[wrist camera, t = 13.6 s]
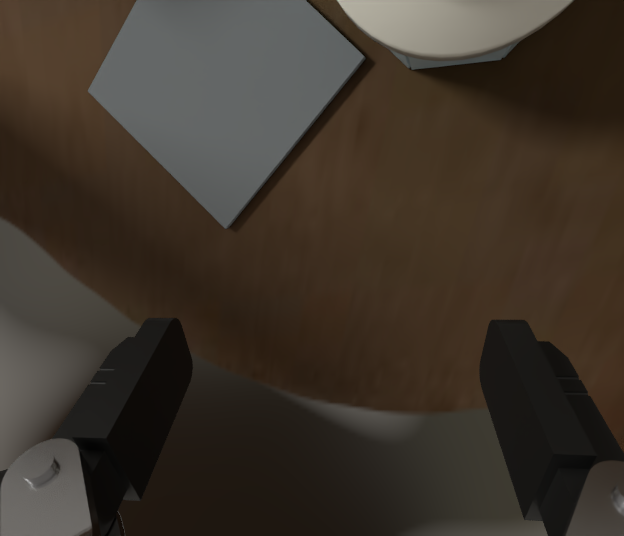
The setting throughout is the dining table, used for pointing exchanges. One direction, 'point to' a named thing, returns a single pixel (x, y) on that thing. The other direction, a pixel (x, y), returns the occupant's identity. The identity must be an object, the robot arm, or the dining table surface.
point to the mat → (223, 89)
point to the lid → (450, 24)
